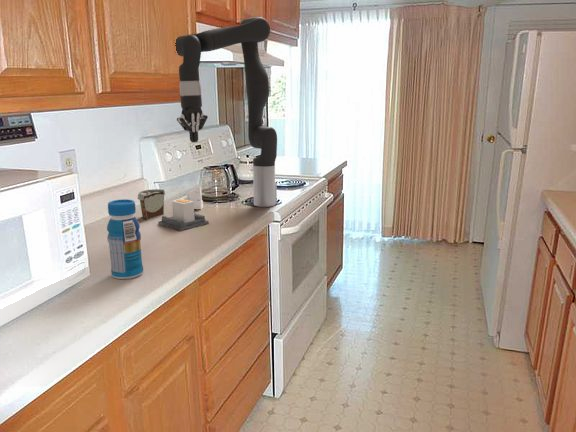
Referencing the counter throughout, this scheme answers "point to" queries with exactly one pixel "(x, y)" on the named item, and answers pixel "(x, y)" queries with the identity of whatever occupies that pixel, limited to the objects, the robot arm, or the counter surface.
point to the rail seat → (181, 225)
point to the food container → (152, 203)
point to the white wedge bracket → (196, 197)
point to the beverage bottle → (124, 240)
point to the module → (183, 210)
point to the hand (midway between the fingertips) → (194, 142)
